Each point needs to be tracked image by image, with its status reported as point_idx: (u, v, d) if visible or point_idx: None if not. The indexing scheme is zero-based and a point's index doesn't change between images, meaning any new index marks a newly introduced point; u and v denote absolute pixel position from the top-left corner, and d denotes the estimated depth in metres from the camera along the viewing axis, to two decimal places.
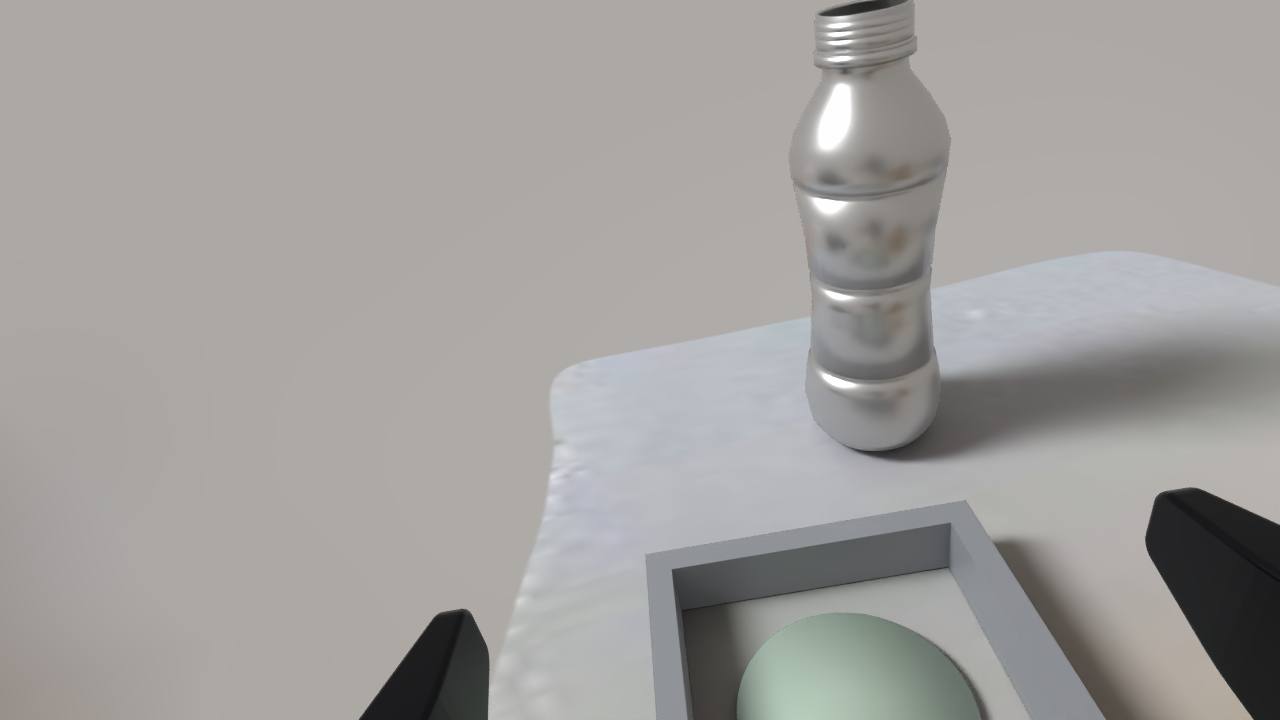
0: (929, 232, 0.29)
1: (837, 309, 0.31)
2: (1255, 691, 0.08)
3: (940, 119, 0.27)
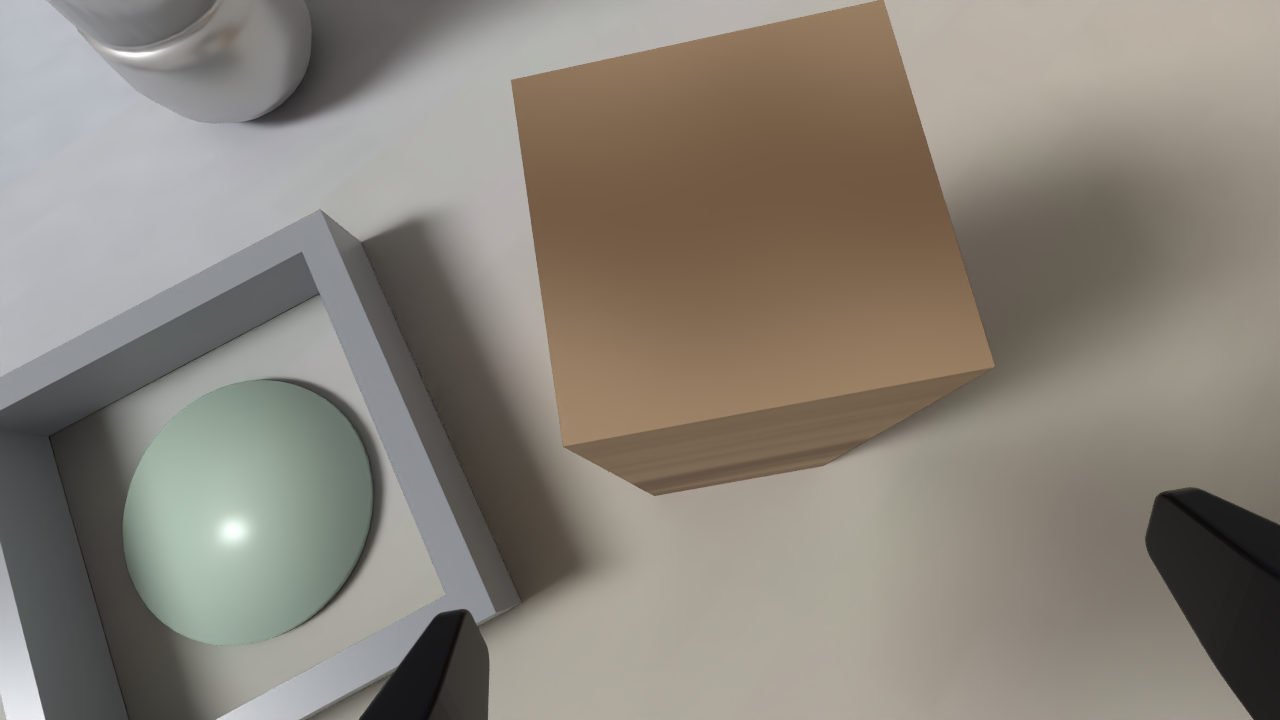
0: None
1: None
2: (1255, 691, 0.08)
3: None
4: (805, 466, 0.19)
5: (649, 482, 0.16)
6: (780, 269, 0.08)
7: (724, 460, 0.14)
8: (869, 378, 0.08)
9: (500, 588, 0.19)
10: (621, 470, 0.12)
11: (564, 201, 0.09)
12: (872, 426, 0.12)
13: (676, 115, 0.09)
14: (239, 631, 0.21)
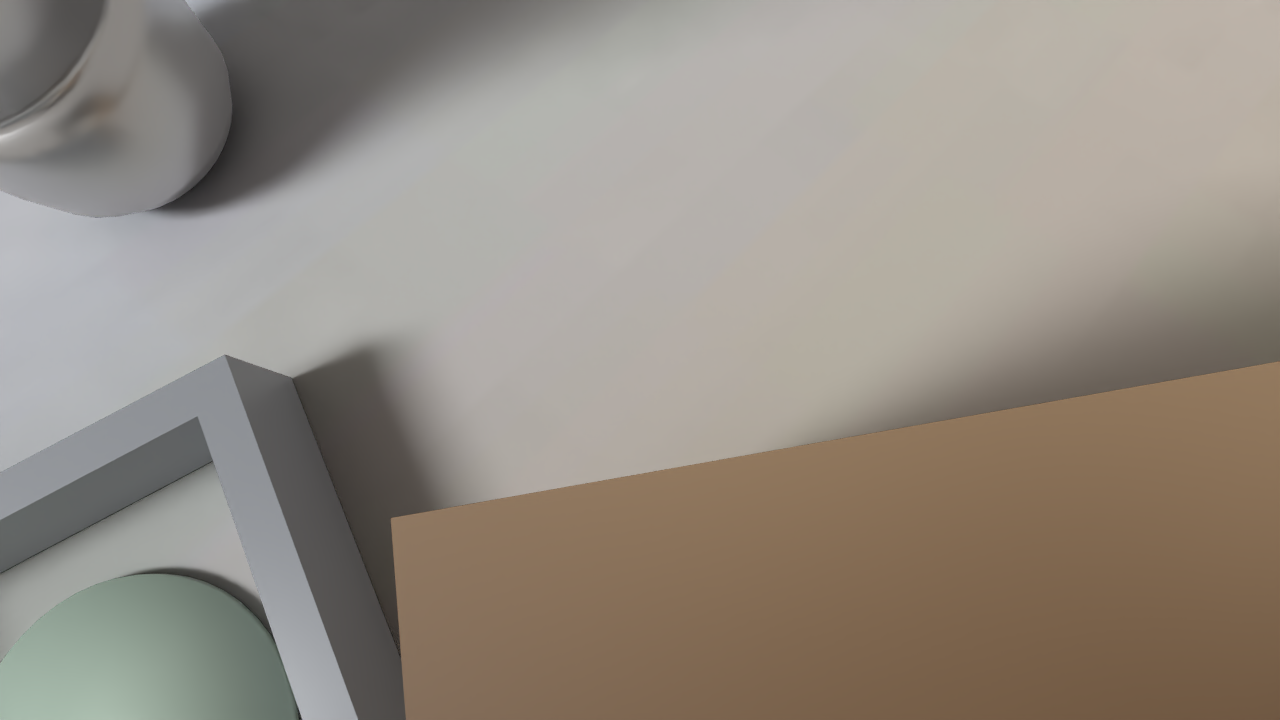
0: None
1: None
2: None
3: None
4: None
5: None
6: None
7: None
8: None
9: None
10: None
11: None
12: None
13: (856, 678, 0.03)
14: None
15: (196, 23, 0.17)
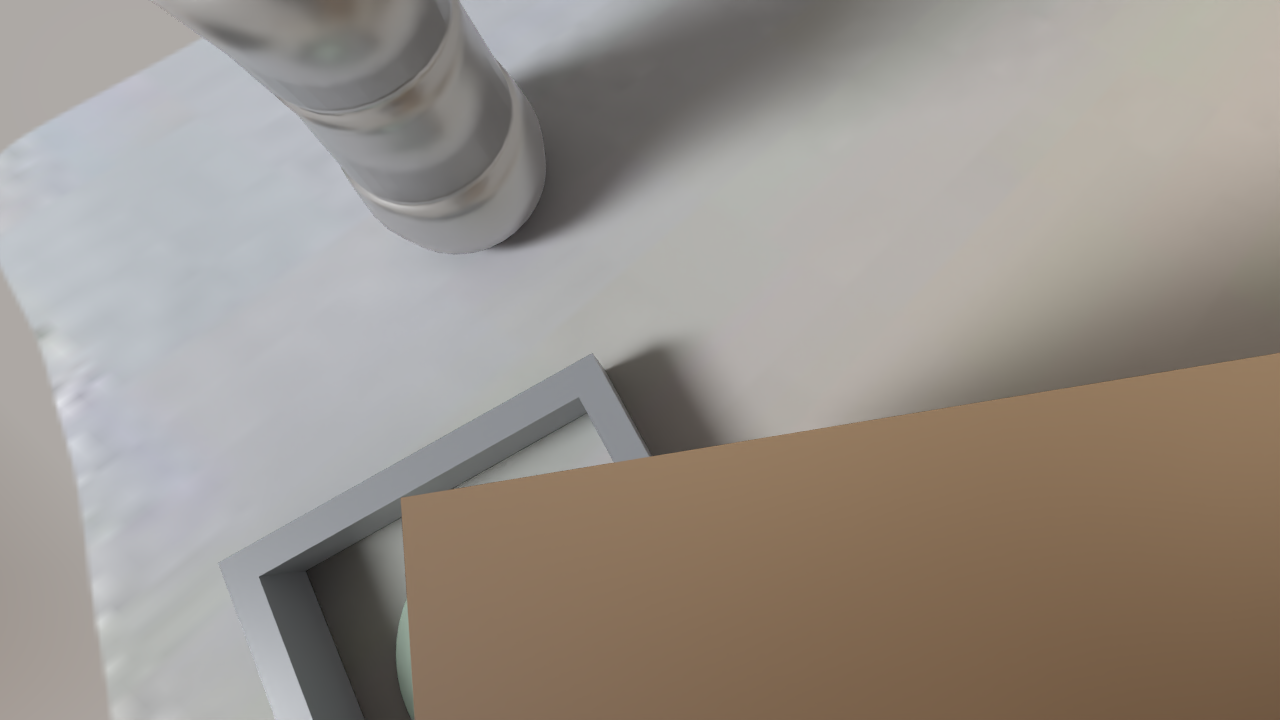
0: None
1: (323, 129, 0.17)
2: None
3: None
4: None
5: None
6: None
7: None
8: None
9: None
10: None
11: None
12: None
13: (845, 656, 0.03)
14: None
15: (533, 109, 0.24)
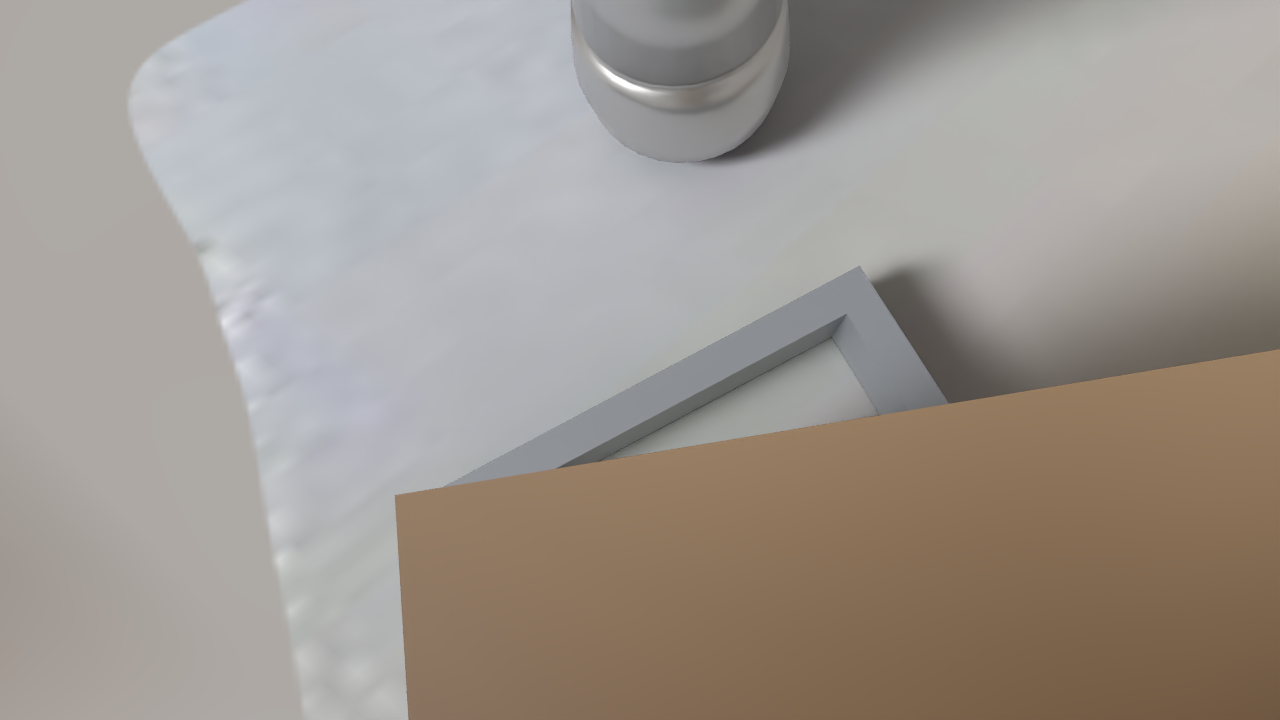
0: None
1: None
2: None
3: None
4: None
5: None
6: None
7: None
8: None
9: None
10: None
11: None
12: None
13: (838, 654, 0.03)
14: None
15: None
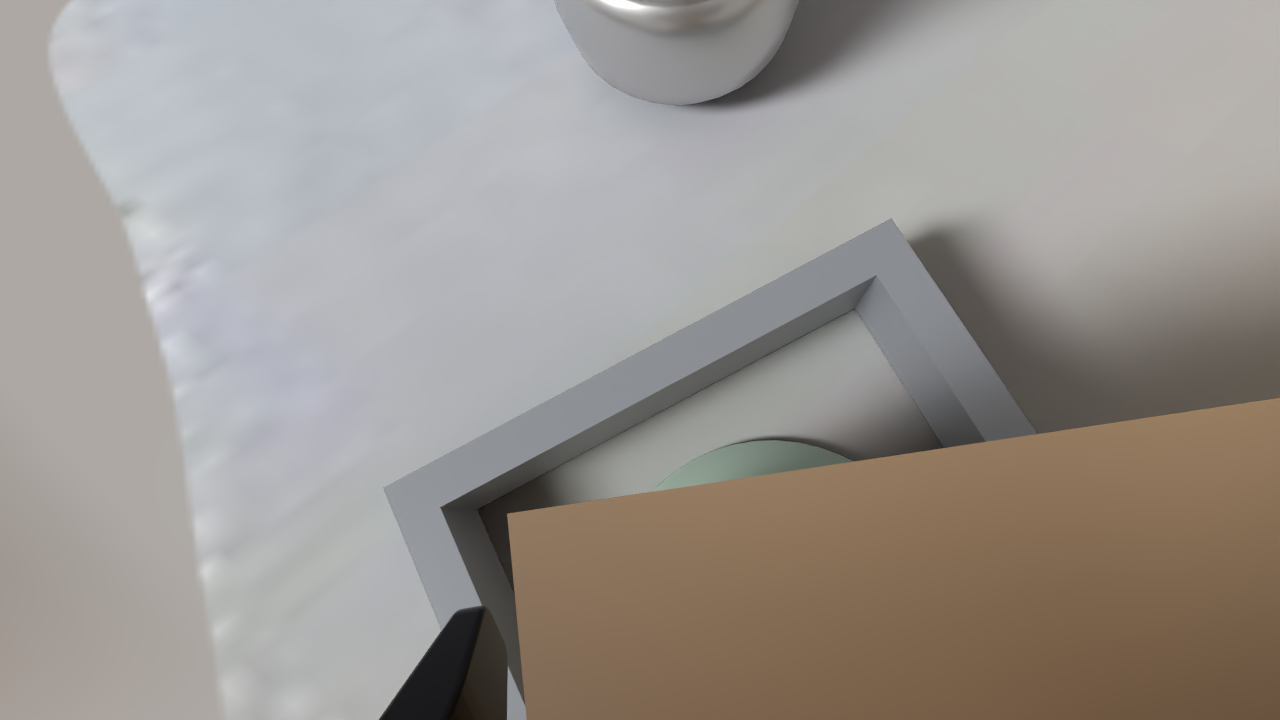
0: None
1: None
2: None
3: None
4: None
5: None
6: None
7: None
8: None
9: None
10: None
11: None
12: None
13: (866, 642, 0.04)
14: None
15: None
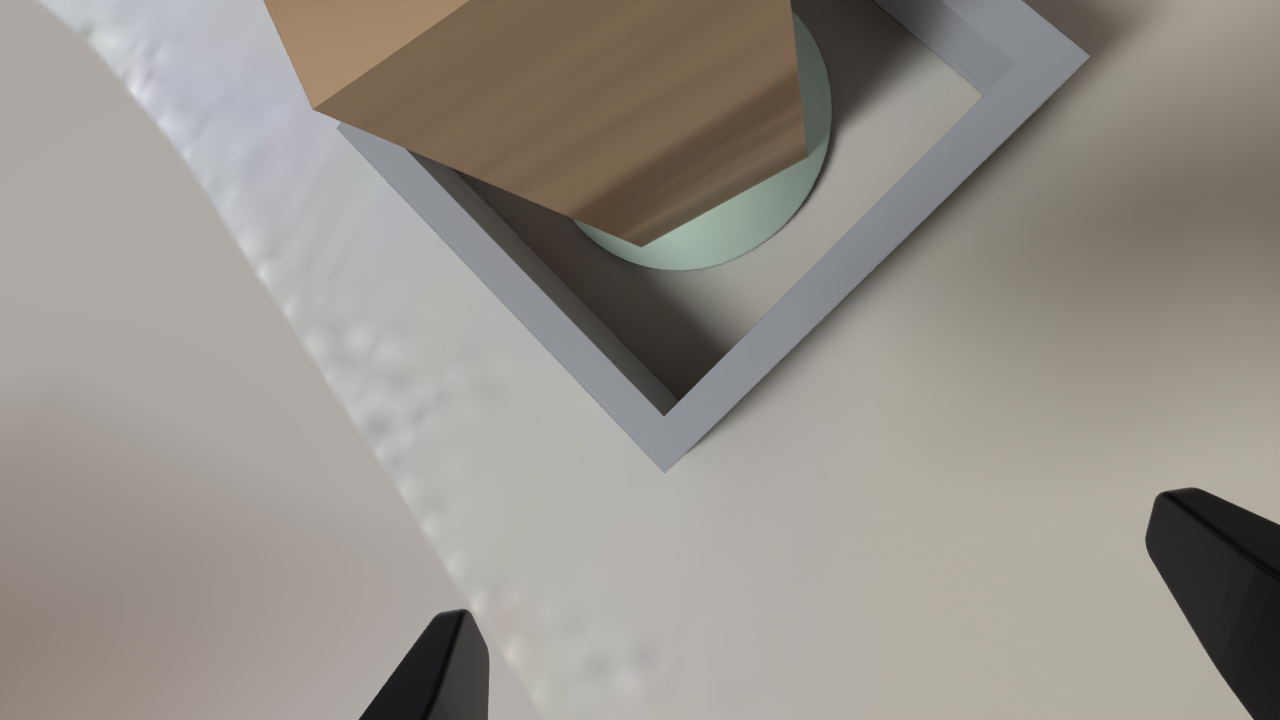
0: None
1: None
2: (1255, 691, 0.08)
3: None
4: (781, 159, 0.17)
5: (589, 211, 0.14)
6: None
7: (632, 145, 0.12)
8: None
9: None
10: (502, 178, 0.11)
11: None
12: (761, 30, 0.10)
13: None
14: (731, 243, 0.19)
15: None
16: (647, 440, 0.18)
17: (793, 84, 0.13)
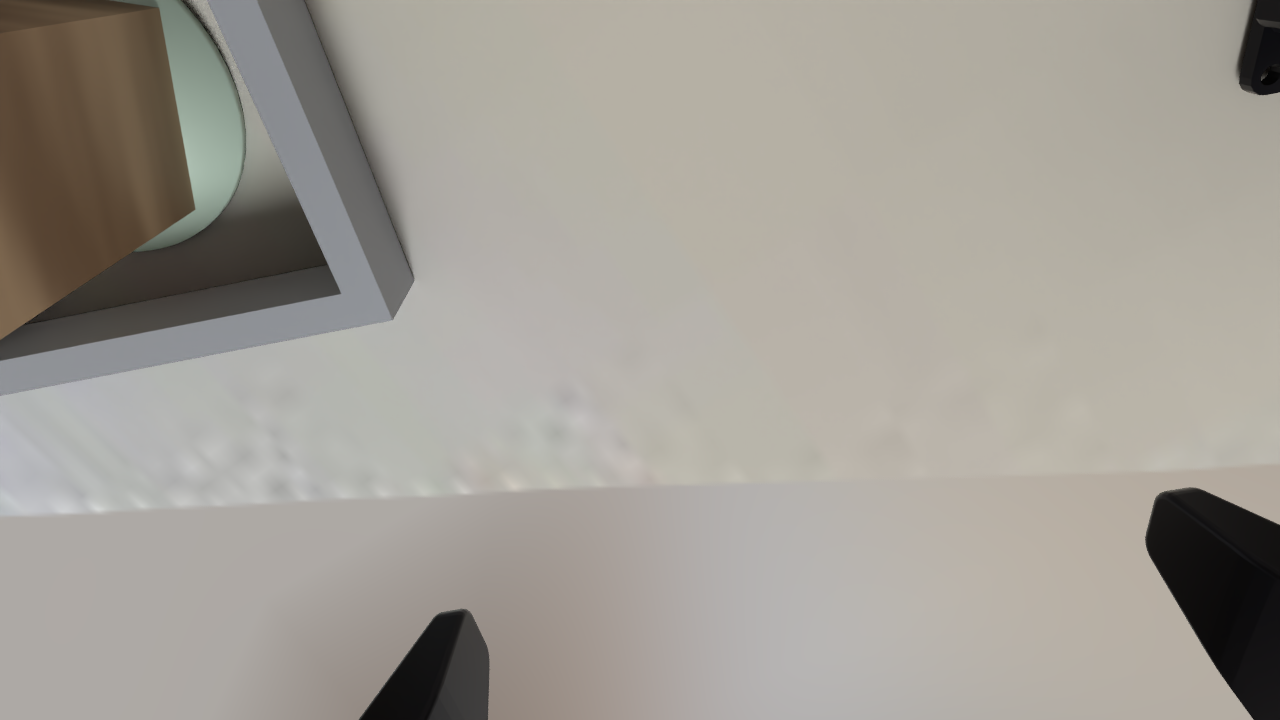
0: None
1: None
2: (1255, 691, 0.08)
3: None
4: (136, 44, 0.16)
5: (62, 280, 0.14)
6: None
7: None
8: None
9: None
10: None
11: None
12: None
13: None
14: (225, 130, 0.18)
15: None
16: (357, 317, 0.19)
17: None
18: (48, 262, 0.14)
